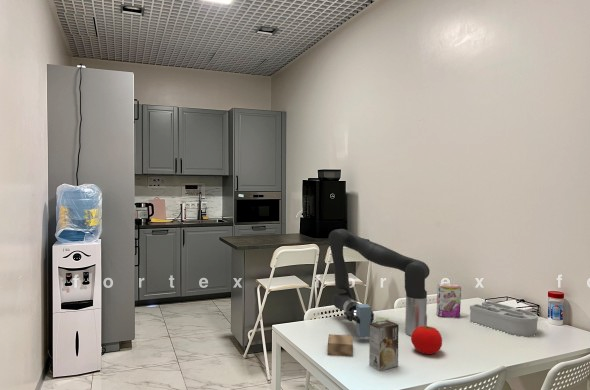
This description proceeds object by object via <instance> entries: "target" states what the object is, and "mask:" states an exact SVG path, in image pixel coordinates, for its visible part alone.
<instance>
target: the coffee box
mask: <svg viewBox="0 0 590 390" xmlns="http://www.w3.org/2000/svg"><path fill="white" fill-rule="evenodd" d="M368 353H369V357H368V358H369V360H368V362H369V366H371V367H372V368H375V369H376V370H377V371H379V372H380V371H384V370H387V369H392V368H395V367H398V366H399V324H398V323H395V322H394V321H391V320H390V319H389V320H385V321H380V322H376V321H375V322H374V321H373V322H372V323H370V337H369V352H368Z"/></svg>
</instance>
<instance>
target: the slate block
mask: <svg viewBox="0 0 590 390" xmlns="http://www.w3.org/2000/svg"><path fill="white" fill-rule="evenodd" d="M371 311H372V307H371V306H370V305H369V304H368V303H362V304H361V303H358V304H356V315H357V317H359V318H360V324H358V323H356V322H355V334H356V335H357V336H358V337H359V338H360V339H361V338H370V323H371Z"/></svg>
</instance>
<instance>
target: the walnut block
mask: <svg viewBox="0 0 590 390" xmlns="http://www.w3.org/2000/svg"><path fill="white" fill-rule="evenodd" d="M327 338H328V339H327V355H328V356H342V357H344V356H345V357H353V355H354V353H353V352H354V343H353V342H354V340H353V338H354V337H353V335H348V334H347V335H346V334H332V333H331V334H330V333H329V334H328V337H327Z"/></svg>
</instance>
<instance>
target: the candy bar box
mask: <svg viewBox="0 0 590 390" xmlns="http://www.w3.org/2000/svg"><path fill="white" fill-rule="evenodd" d="M461 301H462V286H460V285H459V284H449V283H448V284H447V283H446V284H443V283H438V284H437V289H436V316H437V317H439V318H453V317H460V318H461Z"/></svg>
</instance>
